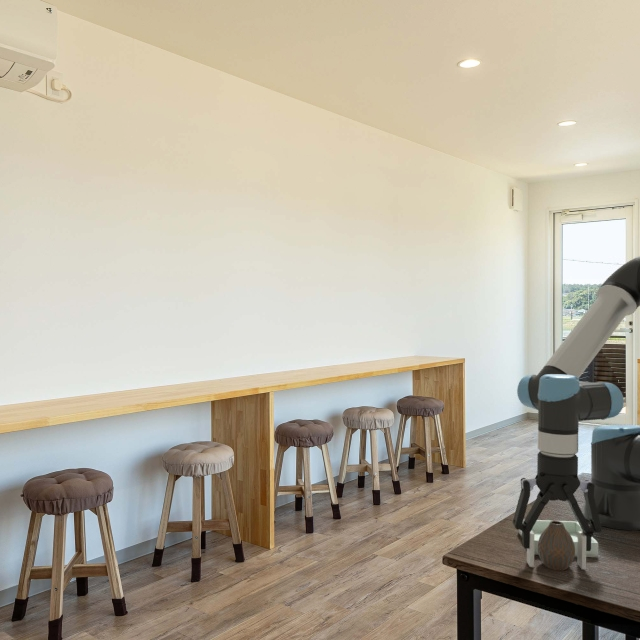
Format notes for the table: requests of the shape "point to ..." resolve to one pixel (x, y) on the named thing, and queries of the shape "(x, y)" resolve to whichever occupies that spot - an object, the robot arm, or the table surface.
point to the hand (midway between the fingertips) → (555, 565)
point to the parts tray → (572, 530)
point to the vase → (556, 546)
